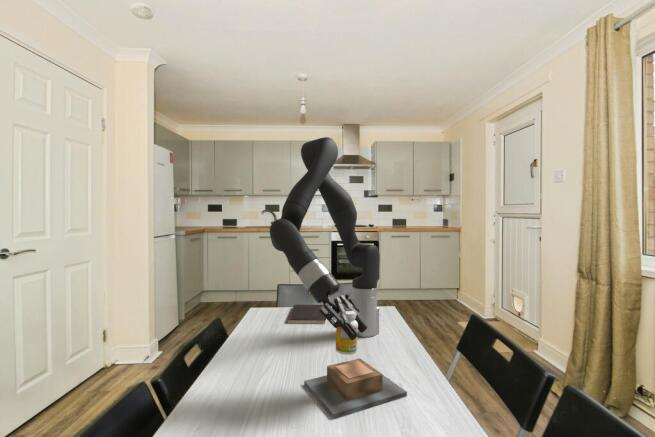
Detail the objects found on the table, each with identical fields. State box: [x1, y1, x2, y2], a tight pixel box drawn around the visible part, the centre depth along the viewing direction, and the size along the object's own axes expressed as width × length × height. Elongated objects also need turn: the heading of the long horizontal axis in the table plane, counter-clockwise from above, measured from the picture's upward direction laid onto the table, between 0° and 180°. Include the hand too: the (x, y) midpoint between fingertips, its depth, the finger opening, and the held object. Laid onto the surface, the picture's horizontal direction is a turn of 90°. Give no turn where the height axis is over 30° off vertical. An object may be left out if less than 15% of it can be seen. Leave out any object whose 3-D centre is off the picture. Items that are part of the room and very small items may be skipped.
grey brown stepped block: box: [303, 358, 408, 420], centre depth 81 cm, size 20×16×5 cm
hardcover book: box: [286, 304, 327, 325], centre depth 144 cm, size 16×23×2 cm
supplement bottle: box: [335, 309, 359, 356], centre depth 82 cm, size 5×5×10 cm
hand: (360, 333), depth 80 cm, fingers closed on supplement bottle, 5 cm apart
